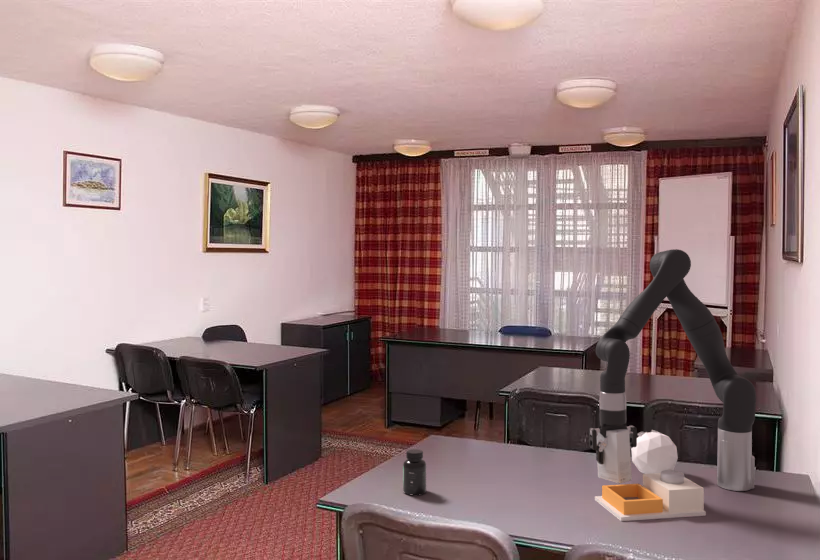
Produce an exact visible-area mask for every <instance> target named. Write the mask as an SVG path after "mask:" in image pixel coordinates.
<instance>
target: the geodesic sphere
mask: <svg viewBox="0 0 820 560" xmlns="http://www.w3.org/2000/svg"><path fill="white" fill-rule="evenodd" d="M677 448H678V447H677V445H676V444H675V443H674V441H672V439H671V438H670V436H668V435H666V434H663V433H662V432H659V431H658V430H654V429H651V431H650V432H648V431H645V432H644V431H640V432H637V446H636V447H633V448H631V449H630V453H631V463H632V464H633V465H634V466H635V467H636V469H637V470H638V471H639V472H640V473H642V474H650V473H661V472H662V471H665V470H673V471H675V467H676V465H677V462H678V457H679V456H678V450H677Z"/></svg>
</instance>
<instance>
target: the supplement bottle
mask: <svg viewBox="0 0 820 560" xmlns="http://www.w3.org/2000/svg"><path fill="white" fill-rule="evenodd" d="M405 452H406V455H405V456H406V457H405V458H406V459H405V460H404V461H403V463H402V491H404V492H405V493H407V494H413V495H417V496H420V495H419V494H422V495H424V494H425V493H427V462H426V461H425V460H424V459H423V458H424V450H421V449H417V448H413V449H408V450H406V451H405ZM404 492H403V493H404ZM405 493H404V494H405ZM423 493H424V494H423ZM407 494H406V495H407Z"/></svg>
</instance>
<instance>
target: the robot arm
mask: <svg viewBox="0 0 820 560" xmlns="http://www.w3.org/2000/svg"><path fill="white" fill-rule="evenodd" d="M691 267H692V262H691V257H690V256H689V254H688V253H687V252H685V251H684V250H681V249H677V248H675V249H673V248H672V249H667V250H664V251H659V252H657V253H655V254H654V255H653V256H651V259H650V261H649V270H650V272H651V275H652V277H653V279H652V280H651V282H650V283H649V284H648V285H647V286H646V288H644V290H643V291H642V292H640V293H639V294H638V295H637V296H636V297H635V298H634V299H633V300H632V301H631V302H630V303H629V304H628V306H627V307H626V308H625V310H624V311H623V313H622V314H621V315H620V317H619V318H618V320H617V322H616V323H615V324H614V325H612V326H611V327H610V328H609V329H608V330H607V331H605V333H604V334H603V335H602V336H601V337H599V340H598V341H597V343H596V346H595V355H596V357H597V358H598V359H600V360H601V361H603V362H606V363H607V364H606V370H603V371H602V372H600V375H599V377H600V378H599V381H600V383H599V386H600V387H599V391H600V392H599V398H598V399H599V401H598V403H599V407H598V408H599V426H598V428H593V427H590V428H589V429H588V435H589V436H588V437H589V438H588V439H589V441H588V442H589V446H588V447H589V448H590V449H592V450H593V451H595V452H596V453H595V461H596V463H597V462H598V463H599V464H603V452H602V451H603V449H604V447H605V446H606V445H607V444H608V436H606V431H608V430H617V429H628V430H629V438H630V450H631V449H632V448H633V447H636V446H637V437H638V435H637V434H638V431H637V430H638V429H637V427H636V426H634V425H632V424H630V425H629V426H627V397H626V375H627V372H628V367H629V364H630V359H631V357H630V356H631V352H630V347H629V345H628V344H627V341H630V340H632V339H636V338H637V337H638V336H639V335H640V333H641V332H642V330H643V329H644V327H645V326H646V324H647V323H648V321H649V320H650V319H651V317H652V316H653V314H654V313H655V311H656V310H657V309H658V307H660V305H661V303H663V301H664V300H665V299H666V298H667V300H668V301H669V303H670V305H671V307H672V310H673V311H674V313H675V315H676V317H677V319H678V321H679V323H680V324H681V327H682V329H683V331H684V332H685V335H686V336H687V339H688V341H689V342H690V344H691V346H692V347H693V350H694V351H695V353H696V355H697V357H698V358H699V360H700V361H701V363H702V364H703V366H704V369H705V371H706V373H707V375H708V378H709V380H710V383H711V386H712V388H713V391H714V394H715V395H716V397H717V398H718V399H719V400H720V401H721V402H722V404H723V405H722V407H723V408H722V415H721V416H720V417H719V418H718V421H717V461H716V462H717V466H716V467H717V468H716V470H717V471H716V484H717V486H718V487H720V488H722V489H725V490H729V491H735V492H736V491H737V492H744V491H745V492H747V491H749V490H752V489H755V467H756V466H755V460H756V458H755V456H754V455H753V454H752V453H753V452H752V447H753V444H752V443H753V439H752V435H753V434H752V433H753V425H754V422H755V420H756V407H757V405H756V404H757V393H756V387H755V385H754V384H753V382H751V381H750V380H749V379H747V378H745V377H743V376H740V375H739V374H738V373H737V371H736V369H735V368H734V367H733V365H732V363H731V361H730V360H729V357H728V354H727V353H726V348H725V342H724V337H723V333H722V330H721V328H720V326H719V324H718V323H717V321H716V318H715V316H714V315H713V313H712V312H711V310H710V309H709V308H708V307H707V306H706V305H705V304H704V303H703V302H702V301H701V300H700V299H699V298H698V297H697V296H696V295H695V294H694V293H693V291H691V289H690V288H689V286H688V285H687V283H686V281H685V279H684V278H685V277H686V276H687V275H688V274H689V272H690V270H691ZM599 432H600V434H601V435H603V437H604V438H605V440H604V441H602V440H598V443H597V436H598V433H599Z"/></svg>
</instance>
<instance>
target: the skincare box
mask: <svg viewBox="0 0 820 560" xmlns="http://www.w3.org/2000/svg"><path fill="white" fill-rule="evenodd" d="M606 436H608V444H607V445H606V446H605V447H604V449H603V451H602V452H603V464H599V463H598V462H597V461H596V463H597V464H596V465H597V467H596V468H597V478H598V479H602V480H606V481H610V482H613V483H616V484H618V485H621V484H623V483H626V482H630V481H632V479H633V476H632V454H631V449H630V438H629V430H628V429H617V430H608V431H606ZM598 440H602V441H604V440H605V438H604V437H603V435H601V434H600V432H599V433H598V436H597V443H598Z"/></svg>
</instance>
